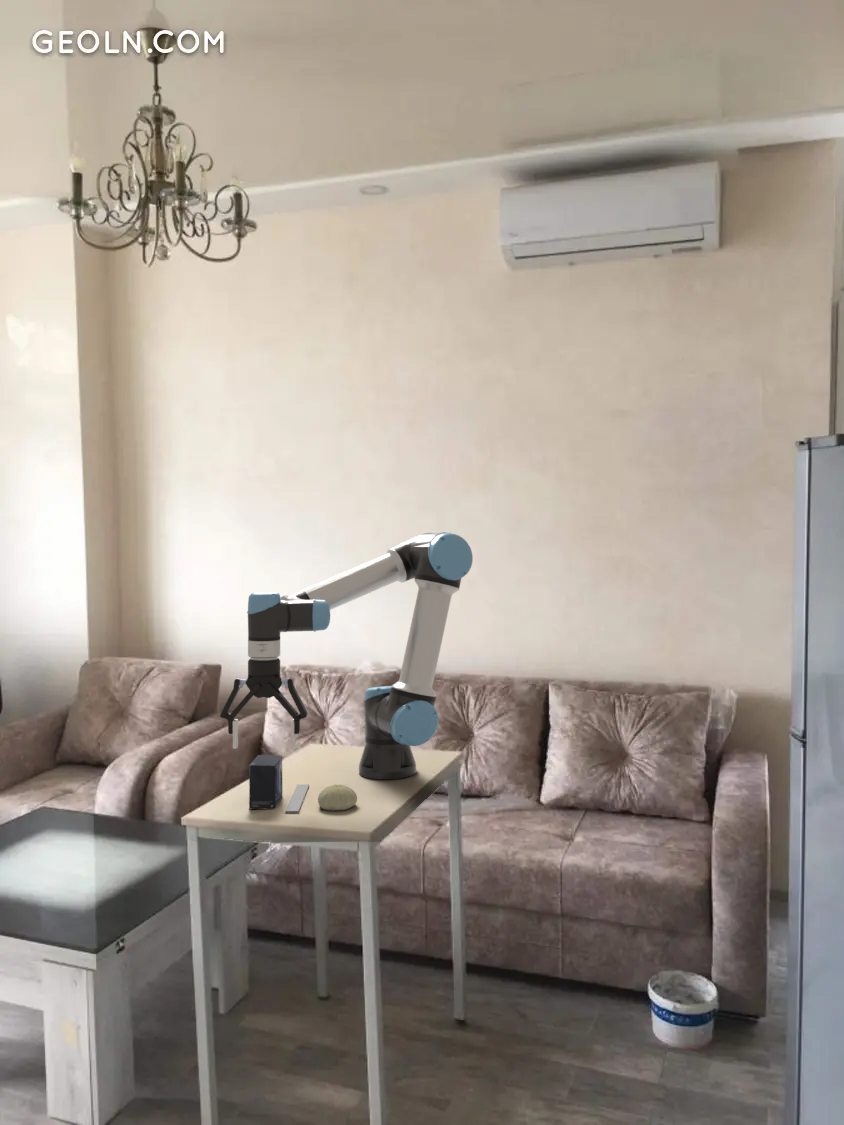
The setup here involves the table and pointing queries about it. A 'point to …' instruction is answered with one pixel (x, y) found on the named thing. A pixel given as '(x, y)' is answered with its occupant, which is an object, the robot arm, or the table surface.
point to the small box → (265, 782)
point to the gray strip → (297, 799)
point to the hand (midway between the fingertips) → (264, 747)
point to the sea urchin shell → (337, 797)
